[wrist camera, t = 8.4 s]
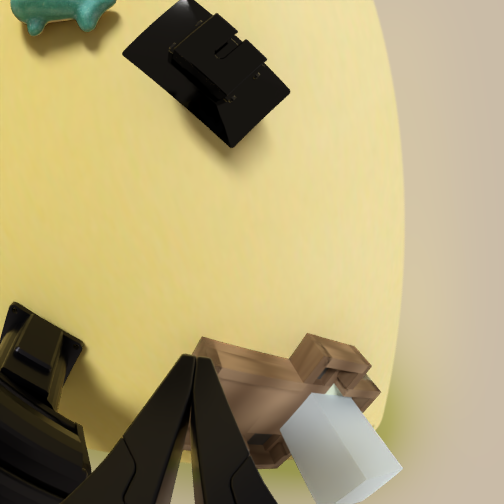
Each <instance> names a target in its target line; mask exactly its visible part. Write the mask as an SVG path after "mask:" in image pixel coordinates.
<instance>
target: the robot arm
mask: <svg viewBox="0 0 504 504" xmlns="http://www.w3.org/2000/svg"><path fill="white" fill-rule="evenodd" d="M14 308H16V309H17V311H16V310H15V309H14ZM74 344H76V345H78V346H75V345H74ZM82 347H83V343H82V341H80V340H79V339H77V338H75V337H74V336H72V335H70V334H68V333H66V332H65V331H63V330H61V329H59V328H58V327H56V326H54V325H52V324H51V323H49V322H47V321H46V320H44V319H42V318H41V317H39V316H37V315H36V314H34V313H33V312H31V311H29V310H28V309H26V308H25V307H23V306H22V305H20V304H19V303H17V302H13V303H12V304H11V305H10V307H9V310H8V313H7V316H6V320H5V323H4V327H3V331H2V334H1V338H0V504H170V502H171V497H172V493H173V489H174V484H175V480H176V476H177V471H178V468H179V463H180V459H181V455H182V451H183V447H184V443H185V438H186V434H187V430H188V426H189V420H190V439H191V457H192V473H193V486H194V498H195V504H278V503H277V502H276V500H275V499H274V498H273V496H272V494H271V493H270V491H269V490H268V488H267V486H266V485H265V483H264V481H263V480H262V477H261V476H260V474H259V472H258V470H257V468H256V466H255V463H254V461H253V459H252V457H251V456H249V455H250V453H249V450H248V448H247V446H246V444H245V441H244V439H243V437H242V434H241V432H240V430H239V427H238V425H237V423H236V420H235V418H234V415H233V413H232V410H231V408H230V406H229V403H228V401H227V398H226V396H225V393H224V390H223V388H222V385H221V383H220V380H219V378H218V375H217V372H216V370H215V367H214V364H213V362H212V359H211V358H209V357H203V356H198V357H197V359H196V356H195V355H189V354H182V355H181V356H180V358H179V359H178V360H177V362H176V363H175V365H174V366H173V367H172V369H171V370H170V371H169V373H168V374H167V376H166V377H165V378H164V380H163V381H162V383H161V384H160V385H159V387H158V388H157V389H156V391H155V392H154V394H153V395H152V396H151V398H150V399H149V400H148V402H147V403H146V405H145V406H144V407H143V409H142V410H141V411H140V413H139V414H138V415H137V417H136V418H135V420H134V421H133V422H132V424H131V425H130V426H129V428H128V429H127V431H126V432H125V433H124V435H123V438H121V439H120V440H119V441H118V443H117V444H116V445H115V447H114V448H113V449H112V451H111V452H110V453H109V454H108V456H107V457H106V458H105V459H104V461H103V462H102V463H101V464H100V465H99V466H98V467H97V468H96V469H95V471H93V472H92V473H91V465H90V461H89V457H88V452H87V447H86V442H85V437H84V432H83V427H82V426H81V425H79V424H78V423H76V422H75V423H74V422H72V421H70V420H69V419H67V418H65V417H64V416H62V415H61V414H59V413H57V411H58V406H59V401H60V396H61V391H62V387H63V385H64V383H65V381H66V379H67V377H68V375H69V373H70V371H71V370H72V368H73V366H74V364H75V362H76V360H77V358H78V356H79V354H80V352H81V351H82ZM190 412H191V415H190Z"/></svg>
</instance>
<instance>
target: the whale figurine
mask: <svg viewBox="0 0 504 504" xmlns="http://www.w3.org/2000/svg"><path fill="white" fill-rule="evenodd" d="M10 3H11V9H12V12H13V14H14V15H15V17H16V18H17V19H18V20H19V21H21V22H23V23H25V24H27V28H28V32H29V34H30V35H31V36H37V35H39V34H41V33H42V31H43V30H44V27H45V26H46V24H48V23H51V22H60V21H67V20H73V19H74V20H76V21H77V23H78V25H79V27H80V28H81V29H82V30H83V31H85V32H90V31H92V30H94V29H95V27H96V25H97V22H98V20H99V19H100V17H101V16H102V14H103V13H104V12H105V11H106V10H108V9H109V8H110V7H112V6H113V5H114V4H115V3H116V0H11V2H10Z"/></svg>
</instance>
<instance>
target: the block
mask: <svg viewBox="0 0 504 504" xmlns="http://www.w3.org/2000/svg"><path fill="white" fill-rule="evenodd" d="M280 432H281V434H282V436H283V438H284V440H285V442H286V444H287V446H288V448H289V451H290V453H291V455H292V457H293V459H294V461H295V463H296V465H297V467H298V469H299V471H300V473H301V475H302V477H303V479H304V481H305V483H306V485H307V487H308V489H309V491H310V493H311V495H312V497H313V498H314V500H315V502H316V504H355V503H358V502H361V501H363V500H364V499H365V498H367V497H368V496H370V495H371V494H372V493H374V492H375V491H376V490H378V489H379V488H380V487H381V486H383V485H384V484H385V483H386V482H388V481H389V480H390V479H391V478H393V477H394V476H395V475H396V474H397V473H399V472H400V471H401V470H402V469H403V468H402V467H401V465H400V464H399V462H398V461H397V460H396V458H395V457H394V456H393V454H392V453H391V452H390V450H389V449H388V448H387V446H386V445H385V443H384V442H383V441H382V439H381V438H380V437H379V435H378V434H377V433H376V431H375V430H374V428H373V427H372V426H371V424H370V423H369V422H368V420H367V419H366V417H365V416H364V415H363V413H362V412H361V411H360V409H359V408H358V407H357V405H356V404H355V402H354V401H353V400H352V398H351V397H344V396H338V395H328V394H319V393H311V394H310V395H309V396H308V398H307V399H306V400H305V401H304V402H303V404H302V405H301V406H300V407H299V408H298V409H297V410H296V412H295V413H294V414H293V415H292V416H291V417H290V418H289V420H288V421H287V422H286V423H285V424H284V425H283V426H282V427H281V428H280Z"/></svg>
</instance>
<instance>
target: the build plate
mask: <svg viewBox="0 0 504 504" xmlns="http://www.w3.org/2000/svg"><path fill="white" fill-rule="evenodd" d="M237 33H238V31H237V30H236V29H235V28H234V27H233V26H231V25H230V24H229V23H228V22H227V21H226V20H225V19H223V18H222V17H221V16H220V15H219V14H218V13H216V14H215V15H212V14H210V13H209V12H208V11H207V10H206V9H204V8H203V7H202V6H201V5H199V4H198V3H197V2H196V1H194V0H179V1H178V2H177V3H176V4H174V5H173V6H172V7H171V8H170V9H168V10H167V11H166V12H165V13H164V14H162V15H161V16H160V17H159V18H158V19H157V20H156V21H154V22H153V23H152V24H151V25H150V26H149V27H148V28H147V29H146V30H145V31H144V32H142V33H141V34H140V35H139V36H138V37H137V38H136V39H135V40H134V41H133V42H132V43H131V44H130V45H129V46H128V47H127V48H126V49H125V50H124V51H123V53H122V55H123V56H124V57H125V58H127V59H128V60H129V61H130V62H132V63H133V64H134V65H135V66H137V67H138V68H139V69H140V70H142V71H143V72H144V73H145V74H146V75H148V76H149V77H150V78H151V79H153V80H154V81H155V82H156V83H157V84H159V85H160V86H161V87H162V88H163V89H164V90H166V91H167V92H168V93H169V94H170V95H172V96H173V97H174V98H175V99H176V100H177V101H179V102H180V103H181V104H182V105H183V106H184V107H185V108H187V109H188V110H189V111H190V112H191V113H192V114H193V115H195V116H196V117H197V118H198V119H199V120H200V121H201V122H202V123H204V124H205V125H206V126H207V127H208V128H209V129H210V130H211V131H213V132H214V133H215V134H216V135H217V136H218V137H219V138H220V139H221V140H222V141H224V142H225V143H226V144H227V145H228V146H229V147H230V148H233V147H235V146H236V145H237V144H238V143H239V142H240V141H241V140H242V139H243V138H244V137H245V136H246V135H247V134H248V133H249V132H250V131H251V130H252V129H253V128H254V127H255V126H256V125H257V124H258V123H259V122H260V121H261V120H262V119H263V118H264V117H265V116H266V115H267V114H268V113H269V112H270V111H271V110H272V109H274V108H275V107H276V106H277V105H278V104H279V103H280V102H281V101H282V100H283V99H284V98H285V97H286V96H288V95H289V94H290V89H289V88H288V87H287V86H286V85H285V84H284V83H283V82H282V81H281V80H280V79H279V78H278V77H277V76H276V75H275V74H274V72H273V71H272V70H271V69H270V68H269V67H268V66H267V65H266V64H265V63H264V62H265V61H266V60H267V58H266V57H265V56H264V55H263V54H262V53H260V52H259V51H258V50H257V49H256V48H255V47H254V46H253V45H252V44H251V43H250V42H249V41H248V40H247V39H245V40H244V41H243V42H242V41H241V40H240V39H239V38H238V37H237V36H235V35H236V34H237Z"/></svg>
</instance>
